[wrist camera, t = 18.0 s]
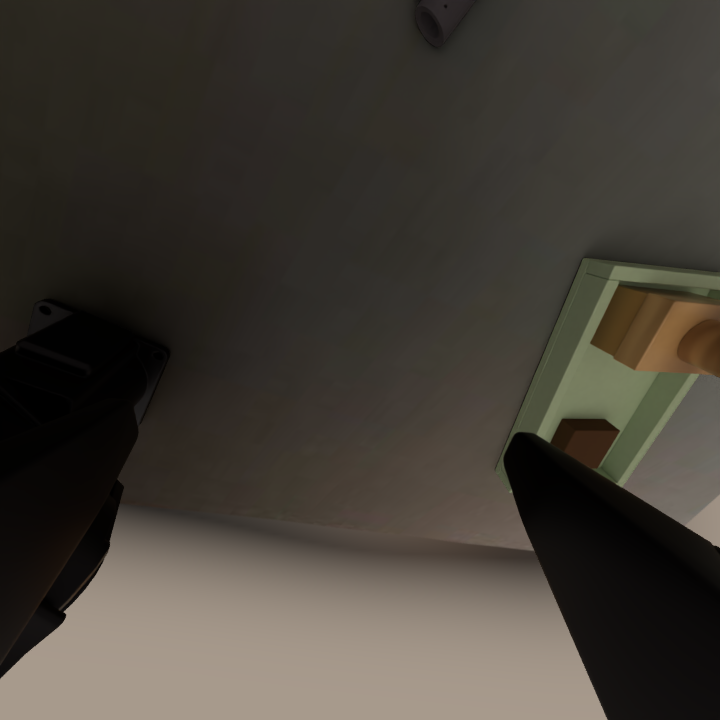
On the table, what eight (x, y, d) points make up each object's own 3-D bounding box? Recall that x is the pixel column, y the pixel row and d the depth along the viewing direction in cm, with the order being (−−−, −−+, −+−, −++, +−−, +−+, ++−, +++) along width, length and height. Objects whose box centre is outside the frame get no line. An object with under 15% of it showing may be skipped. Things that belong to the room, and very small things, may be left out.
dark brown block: (584, 455, 27) (597, 469, 26) (542, 456, 27) (554, 469, 25) (605, 418, 26) (621, 430, 24) (561, 418, 25) (575, 430, 24)
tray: (599, 468, 29) (621, 489, 27) (494, 470, 28) (509, 493, 26) (719, 272, 21) (763, 281, 19) (582, 257, 20) (615, 265, 17)
